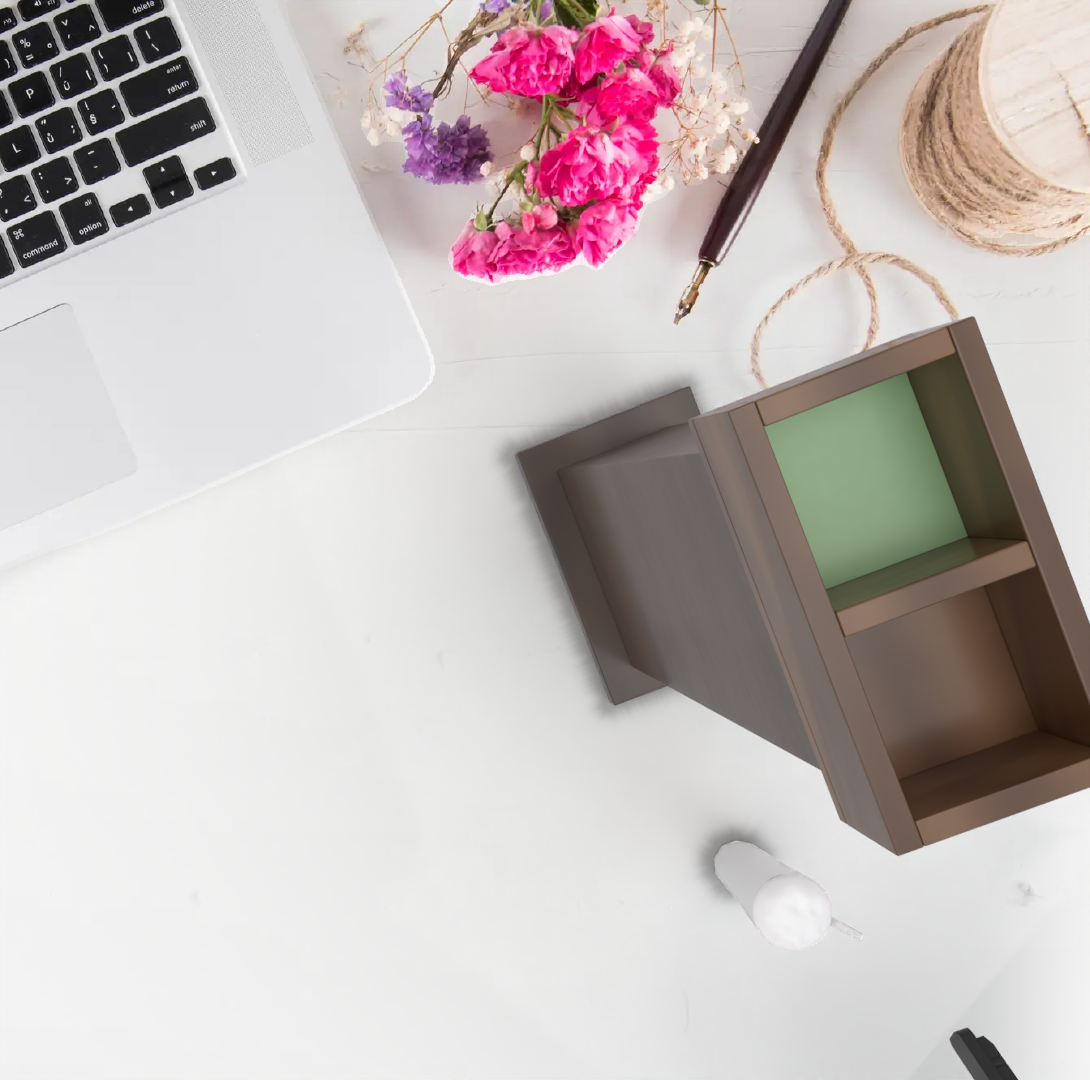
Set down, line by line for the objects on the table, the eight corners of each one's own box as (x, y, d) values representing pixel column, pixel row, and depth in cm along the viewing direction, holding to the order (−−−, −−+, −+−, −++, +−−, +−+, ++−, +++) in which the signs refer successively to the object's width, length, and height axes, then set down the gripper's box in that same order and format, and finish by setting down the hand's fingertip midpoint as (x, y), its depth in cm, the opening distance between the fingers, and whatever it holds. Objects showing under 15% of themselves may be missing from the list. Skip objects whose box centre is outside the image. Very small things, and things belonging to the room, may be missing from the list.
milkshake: (775, 906, 68) (852, 976, 58) (696, 888, 68) (759, 954, 58) (791, 841, 68) (871, 900, 58) (712, 823, 68) (778, 879, 58)
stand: (684, 387, 67) (940, 307, 39) (781, 639, 67) (1103, 738, 39) (513, 453, 68) (645, 422, 40) (610, 703, 68) (807, 845, 40)
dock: (907, 334, 39) (975, 314, 35) (1060, 740, 40) (1145, 768, 35) (686, 420, 40) (727, 411, 36) (839, 820, 40) (897, 856, 36)
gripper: (1316, 1389, 41) (1024, 993, 53) (977, 1497, 42) (761, 1085, 53) (1243, 1393, 47) (992, 1033, 58) (945, 1489, 48) (754, 1116, 59)
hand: (882, 1059), depth 56 cm, fingers open, 8 cm apart
